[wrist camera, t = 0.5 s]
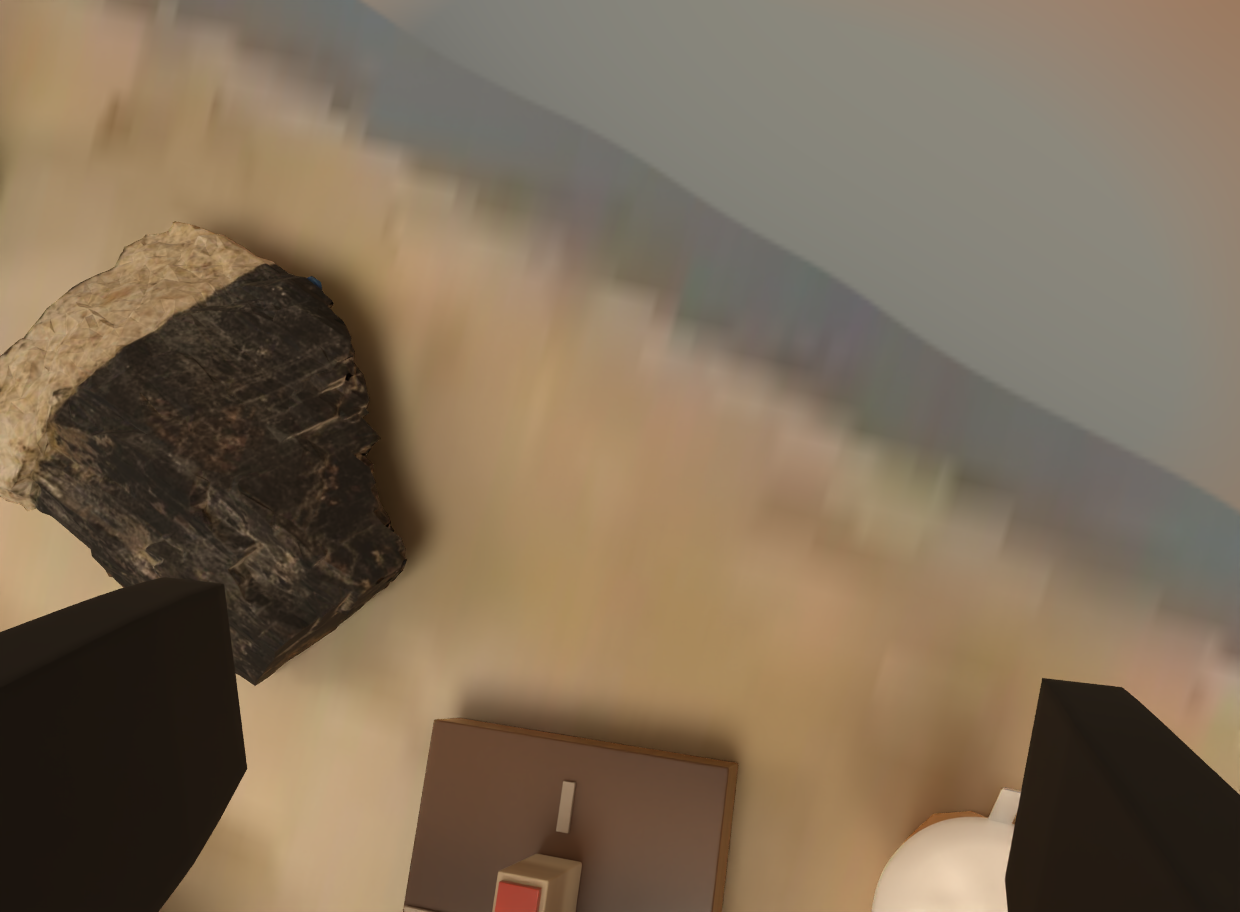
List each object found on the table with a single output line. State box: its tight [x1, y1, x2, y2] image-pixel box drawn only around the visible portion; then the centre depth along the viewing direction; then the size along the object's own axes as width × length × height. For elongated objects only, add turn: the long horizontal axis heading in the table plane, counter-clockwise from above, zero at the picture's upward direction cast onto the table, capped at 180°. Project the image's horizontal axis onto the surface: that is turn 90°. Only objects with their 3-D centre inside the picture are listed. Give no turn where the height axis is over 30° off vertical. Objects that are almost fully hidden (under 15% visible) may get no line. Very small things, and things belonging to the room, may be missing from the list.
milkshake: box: [871, 787, 1021, 912], centre depth 26 cm, size 4×5×10 cm
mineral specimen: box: [0, 221, 407, 686], centre depth 35 cm, size 13×7×15 cm
